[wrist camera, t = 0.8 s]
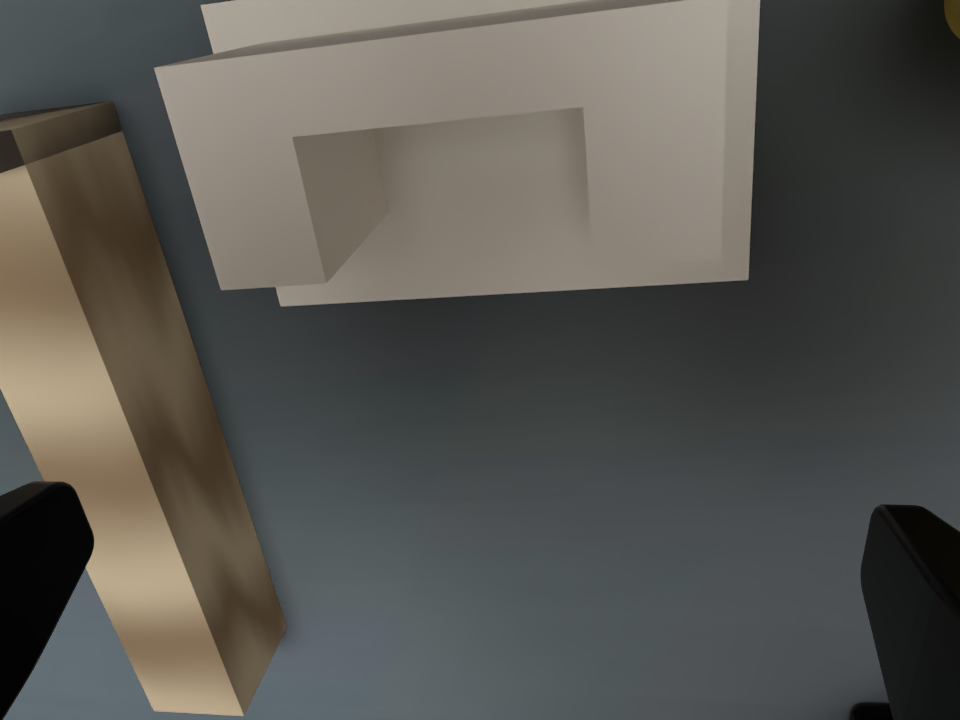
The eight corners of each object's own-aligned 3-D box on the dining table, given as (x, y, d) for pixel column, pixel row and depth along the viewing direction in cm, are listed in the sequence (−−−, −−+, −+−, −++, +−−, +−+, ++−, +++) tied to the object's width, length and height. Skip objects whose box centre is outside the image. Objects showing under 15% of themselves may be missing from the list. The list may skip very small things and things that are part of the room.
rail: (287, 626, 30) (233, 736, 25) (206, 624, 30) (141, 731, 26) (112, 101, 20) (-15, 136, 16) (3, 114, 21) (-146, 151, 17)
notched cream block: (743, 268, 20) (788, 373, 15) (290, 295, 22) (197, 393, 17) (756, -74, 16) (822, -90, 11) (215, 3, 19) (71, 19, 14)
